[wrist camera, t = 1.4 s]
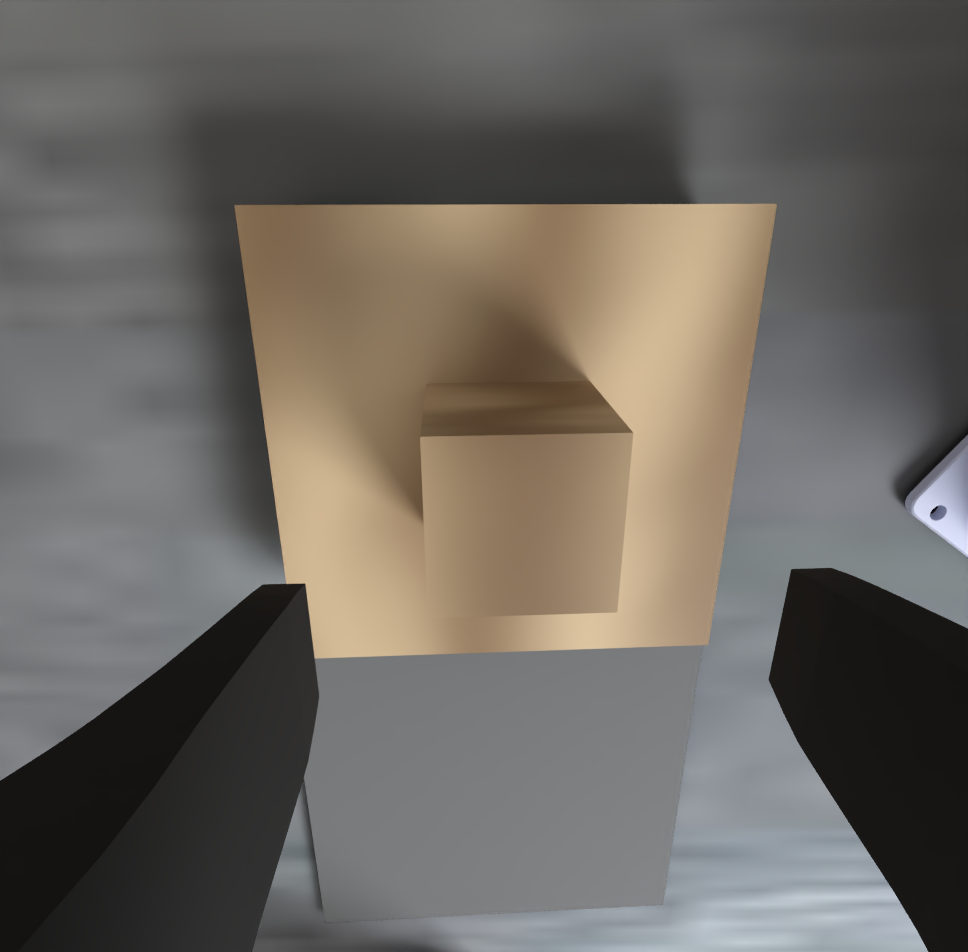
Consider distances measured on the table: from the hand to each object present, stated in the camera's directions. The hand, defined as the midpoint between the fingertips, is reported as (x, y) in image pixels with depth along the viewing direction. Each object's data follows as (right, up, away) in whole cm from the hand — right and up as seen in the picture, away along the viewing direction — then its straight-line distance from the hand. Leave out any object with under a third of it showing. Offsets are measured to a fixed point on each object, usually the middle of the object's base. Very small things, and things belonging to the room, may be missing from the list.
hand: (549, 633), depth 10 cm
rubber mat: (-1, -9, +15) cm, 17 cm away
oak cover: (0, +3, +8) cm, 8 cm away
